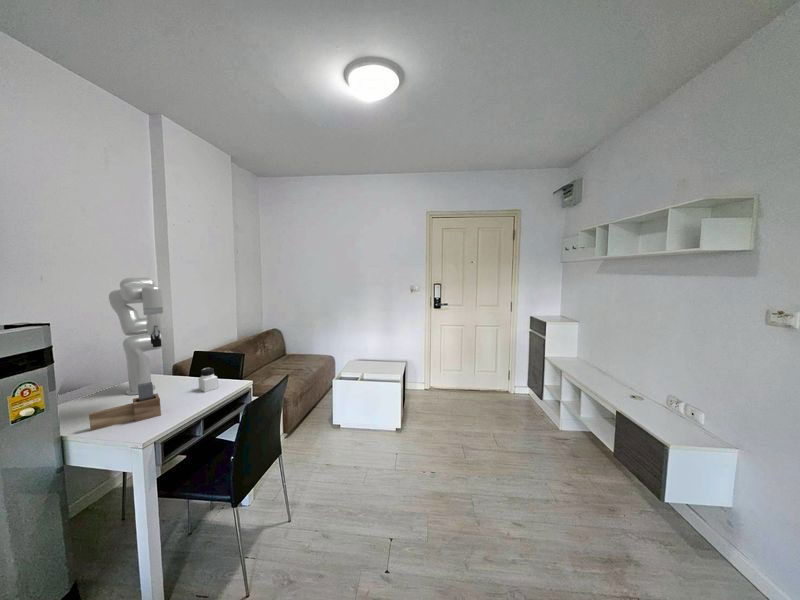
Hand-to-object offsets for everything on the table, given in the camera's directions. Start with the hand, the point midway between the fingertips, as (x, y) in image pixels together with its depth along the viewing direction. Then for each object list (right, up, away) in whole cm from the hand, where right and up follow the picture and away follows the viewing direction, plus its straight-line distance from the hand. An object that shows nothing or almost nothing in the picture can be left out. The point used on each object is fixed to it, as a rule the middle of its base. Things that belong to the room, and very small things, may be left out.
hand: (156, 345), depth 149 cm
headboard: (-1, -32, -15) cm, 35 cm away
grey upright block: (+4, -28, -10) cm, 30 cm away
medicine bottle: (+13, -29, +21) cm, 38 cm away
